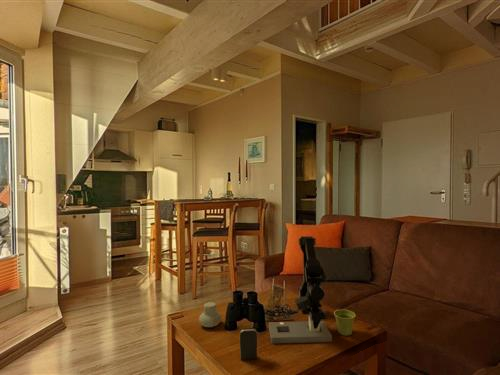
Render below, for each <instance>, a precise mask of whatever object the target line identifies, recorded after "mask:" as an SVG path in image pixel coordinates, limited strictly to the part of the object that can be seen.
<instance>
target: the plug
mask: <svg viewBox="0 0 500 375" xmlns="http://www.w3.org/2000/svg"><path fill="white" fill-rule="evenodd" d="M308 321H309V332H316V331H320V323H319V325H318V327H317V329H314V325H313V319H311V317H310V315H309V314H308Z"/></svg>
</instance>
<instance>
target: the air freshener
mask: <svg viewBox="0 0 500 375" xmlns="http://www.w3.org/2000/svg"><path fill="white" fill-rule="evenodd" d="M222 318H223V317H222V315H221V313H220V312H219V311H217V304H216V303H215V302H214V301H213V302H212V301H209V302H205V303H204V305H203V311H202V313H201V314H200V315H199V317H198V322H199V324H200V325H201V326H202V327H205V328H215V327H216V326H218V325H219V324H220V322H221V321H222ZM214 326H215V327H214Z"/></svg>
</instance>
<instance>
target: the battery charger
mask: <svg viewBox="0 0 500 375" xmlns="http://www.w3.org/2000/svg"><path fill="white" fill-rule="evenodd" d="M239 356H240V357H239V359H240V360H241V361H242V360H244V361H245V360H250V361H251V360H257V359H258V332H257V329H256V328H254V327H243V328H241V329H240V331H239Z"/></svg>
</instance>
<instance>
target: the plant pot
mask: <svg viewBox="0 0 500 375" xmlns="http://www.w3.org/2000/svg"><path fill="white" fill-rule="evenodd" d="M333 315H334V318H335V321H336V328H337V329H336V330H337V333H339V335H341V336H346V337H347V336H351V335H352V334H353V327H354V320H355V318H356V314H355V312H354V311H351V310H350V309H349V310H348V309H336V310H335V311H333Z"/></svg>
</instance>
